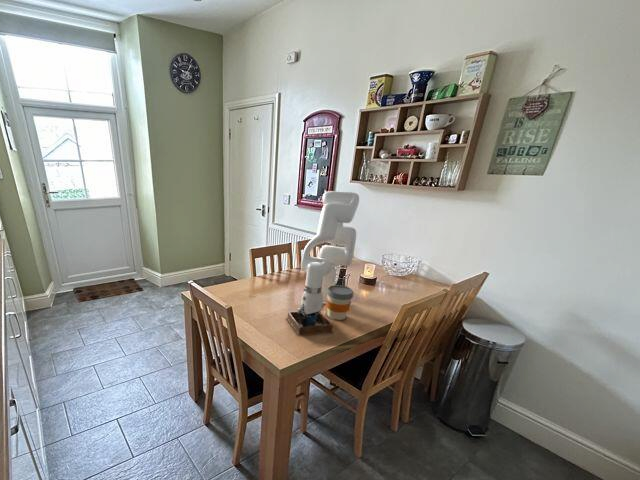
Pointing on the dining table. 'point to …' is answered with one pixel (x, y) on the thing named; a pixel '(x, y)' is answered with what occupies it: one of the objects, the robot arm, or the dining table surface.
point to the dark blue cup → (311, 319)
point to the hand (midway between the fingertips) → (309, 322)
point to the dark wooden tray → (319, 326)
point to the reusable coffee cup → (338, 301)
